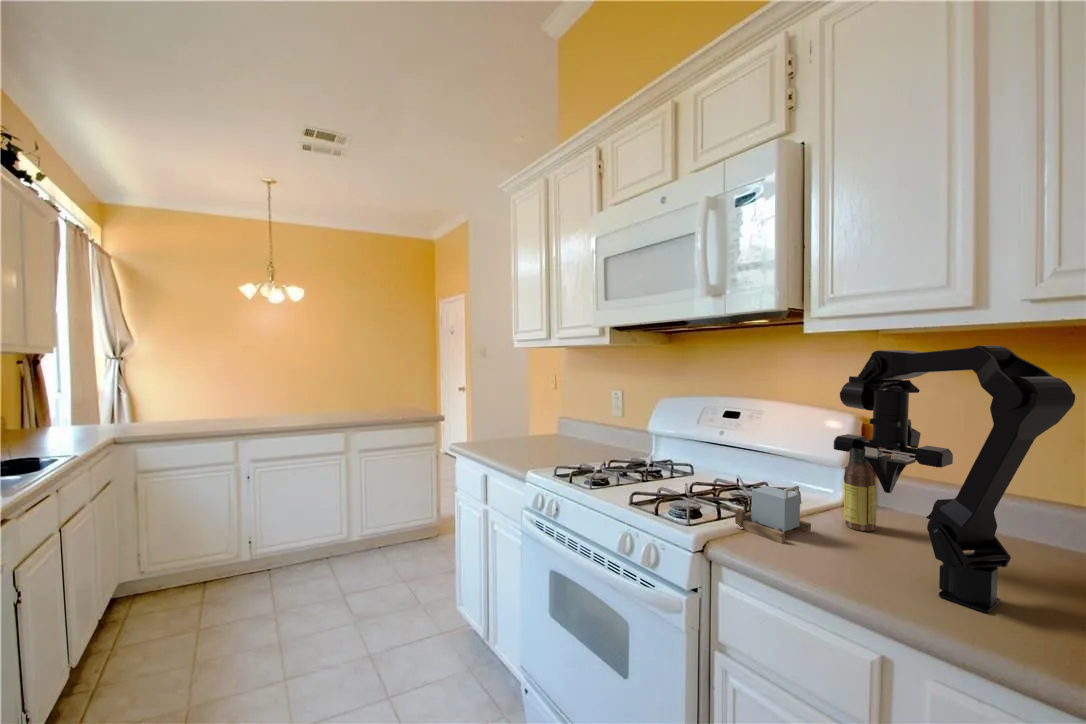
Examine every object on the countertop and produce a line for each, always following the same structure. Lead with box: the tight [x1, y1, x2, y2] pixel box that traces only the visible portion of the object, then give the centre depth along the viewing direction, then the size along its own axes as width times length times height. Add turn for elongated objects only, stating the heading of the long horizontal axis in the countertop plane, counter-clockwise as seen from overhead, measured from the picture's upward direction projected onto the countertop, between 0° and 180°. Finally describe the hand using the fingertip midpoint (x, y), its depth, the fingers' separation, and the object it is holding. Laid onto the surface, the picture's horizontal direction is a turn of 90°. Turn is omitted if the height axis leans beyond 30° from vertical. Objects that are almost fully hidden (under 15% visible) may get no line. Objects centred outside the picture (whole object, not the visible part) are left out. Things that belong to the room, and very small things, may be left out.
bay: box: [734, 508, 812, 544], centre depth 114 cm, size 11×12×4 cm
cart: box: [750, 485, 801, 533], centre depth 113 cm, size 8×7×10 cm
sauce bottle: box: [843, 448, 877, 532], centre depth 115 cm, size 7×6×20 cm
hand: (888, 492), depth 99 cm, fingers closed
